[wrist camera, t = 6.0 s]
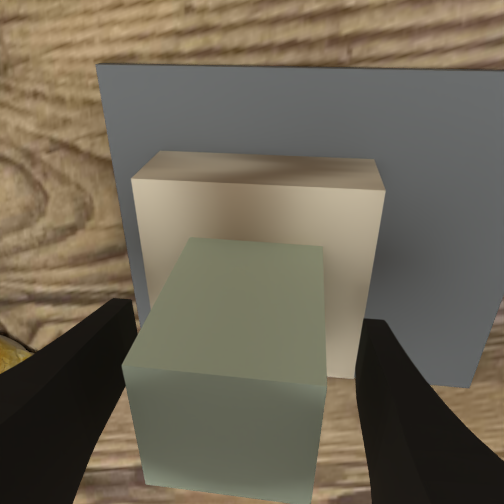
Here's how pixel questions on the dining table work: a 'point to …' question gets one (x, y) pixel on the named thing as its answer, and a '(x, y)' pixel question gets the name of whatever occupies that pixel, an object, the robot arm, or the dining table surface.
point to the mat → (350, 146)
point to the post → (233, 371)
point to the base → (269, 222)
